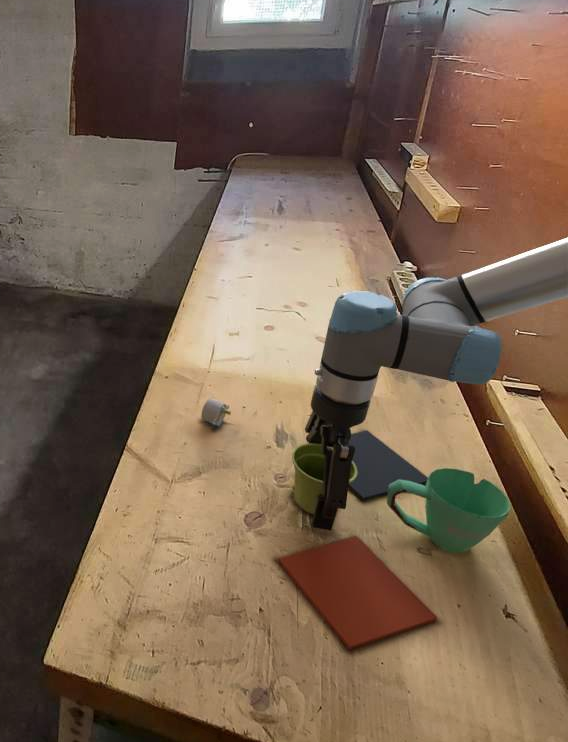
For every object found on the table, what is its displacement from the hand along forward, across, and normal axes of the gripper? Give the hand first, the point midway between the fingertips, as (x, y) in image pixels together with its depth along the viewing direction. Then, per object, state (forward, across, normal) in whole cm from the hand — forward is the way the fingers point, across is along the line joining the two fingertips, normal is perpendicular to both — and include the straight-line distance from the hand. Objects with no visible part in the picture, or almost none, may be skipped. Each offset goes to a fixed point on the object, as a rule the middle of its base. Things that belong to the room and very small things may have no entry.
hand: (314, 499), depth 93 cm
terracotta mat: (+1, +16, +2) cm, 16 cm away
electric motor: (+1, -18, -15) cm, 23 cm away
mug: (+1, +4, +16) cm, 16 cm away
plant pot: (+1, 0, 0) cm, 1 cm away
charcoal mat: (+1, -12, +10) cm, 16 cm away
